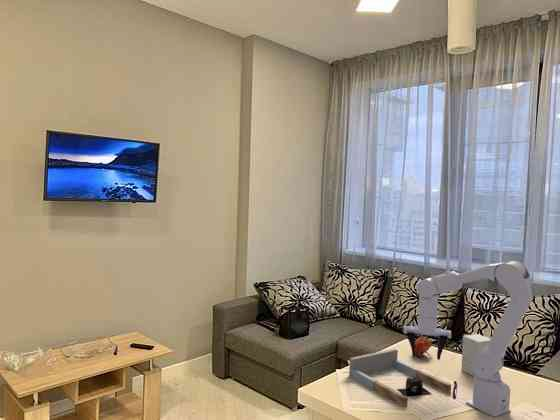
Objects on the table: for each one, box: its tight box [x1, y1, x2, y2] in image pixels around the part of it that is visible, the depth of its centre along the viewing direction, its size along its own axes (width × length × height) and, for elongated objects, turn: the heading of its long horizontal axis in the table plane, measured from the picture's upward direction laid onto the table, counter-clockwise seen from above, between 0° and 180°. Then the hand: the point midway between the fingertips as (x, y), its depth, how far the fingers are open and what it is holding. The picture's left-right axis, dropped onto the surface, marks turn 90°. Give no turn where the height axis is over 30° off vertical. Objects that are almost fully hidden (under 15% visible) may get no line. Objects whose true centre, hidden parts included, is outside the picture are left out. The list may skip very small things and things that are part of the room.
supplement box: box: [460, 333, 491, 377], centre depth 157 cm, size 7×7×13 cm
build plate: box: [396, 376, 433, 398], centre depth 140 cm, size 12×7×5 cm, turn 105°
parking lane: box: [348, 348, 452, 408], centre depth 146 cm, size 24×21×6 cm
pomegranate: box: [415, 337, 433, 359], centre depth 171 cm, size 7×7×10 cm
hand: (425, 357), depth 144 cm, fingers open, 7 cm apart
